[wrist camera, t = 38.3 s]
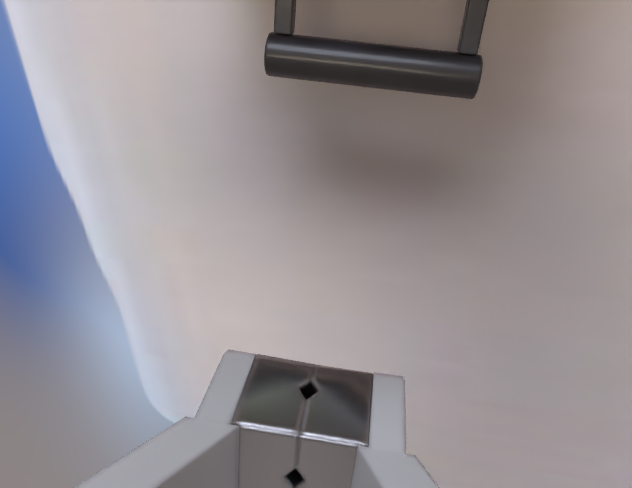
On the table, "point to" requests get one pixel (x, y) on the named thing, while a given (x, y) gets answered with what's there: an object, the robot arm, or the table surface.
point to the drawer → (378, 58)
